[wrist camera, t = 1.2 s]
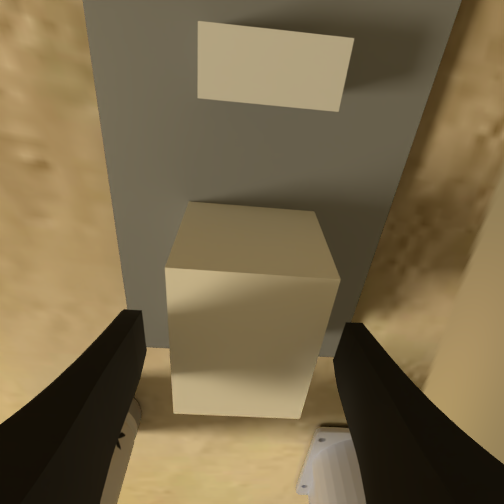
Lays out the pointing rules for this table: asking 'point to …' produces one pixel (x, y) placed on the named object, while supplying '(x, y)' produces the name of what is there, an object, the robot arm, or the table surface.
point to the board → (259, 121)
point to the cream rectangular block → (247, 309)
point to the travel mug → (121, 455)
